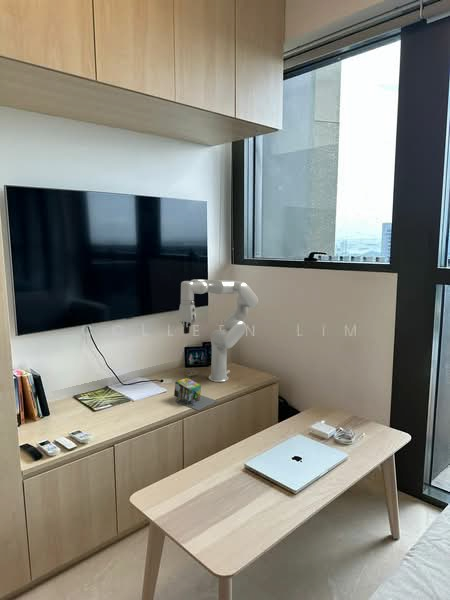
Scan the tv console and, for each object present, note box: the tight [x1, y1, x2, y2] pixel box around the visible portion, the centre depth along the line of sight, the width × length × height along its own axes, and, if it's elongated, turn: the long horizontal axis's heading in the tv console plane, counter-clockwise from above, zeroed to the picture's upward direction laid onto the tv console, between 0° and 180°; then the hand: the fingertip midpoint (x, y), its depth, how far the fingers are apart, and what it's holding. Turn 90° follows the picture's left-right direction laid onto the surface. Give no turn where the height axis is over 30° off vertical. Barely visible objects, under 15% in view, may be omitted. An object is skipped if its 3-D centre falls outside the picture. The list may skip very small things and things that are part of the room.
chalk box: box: [173, 377, 202, 405], centre depth 217 cm, size 9×9×15 cm
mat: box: [175, 394, 218, 412], centre depth 217 cm, size 16×16×1 cm
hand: (186, 333), depth 235 cm, fingers closed
